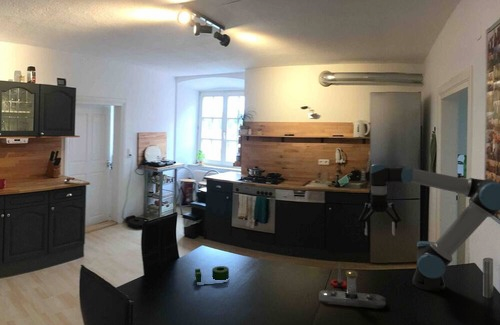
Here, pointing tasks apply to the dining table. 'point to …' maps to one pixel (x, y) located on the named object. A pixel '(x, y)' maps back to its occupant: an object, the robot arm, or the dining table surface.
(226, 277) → the slotted cylinder bracket
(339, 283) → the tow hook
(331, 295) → the grey rounded bar
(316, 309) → the dining table surface
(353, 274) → the link pin
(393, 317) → the dining table surface
